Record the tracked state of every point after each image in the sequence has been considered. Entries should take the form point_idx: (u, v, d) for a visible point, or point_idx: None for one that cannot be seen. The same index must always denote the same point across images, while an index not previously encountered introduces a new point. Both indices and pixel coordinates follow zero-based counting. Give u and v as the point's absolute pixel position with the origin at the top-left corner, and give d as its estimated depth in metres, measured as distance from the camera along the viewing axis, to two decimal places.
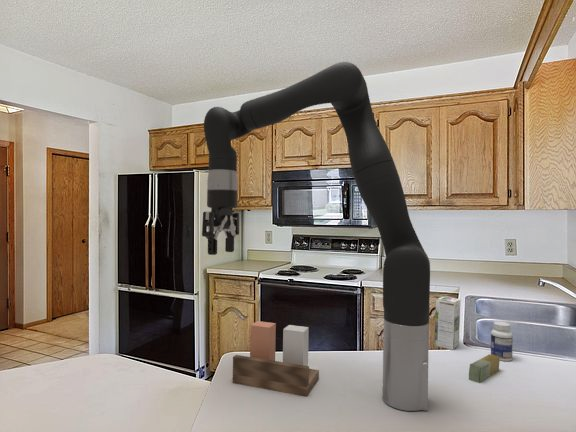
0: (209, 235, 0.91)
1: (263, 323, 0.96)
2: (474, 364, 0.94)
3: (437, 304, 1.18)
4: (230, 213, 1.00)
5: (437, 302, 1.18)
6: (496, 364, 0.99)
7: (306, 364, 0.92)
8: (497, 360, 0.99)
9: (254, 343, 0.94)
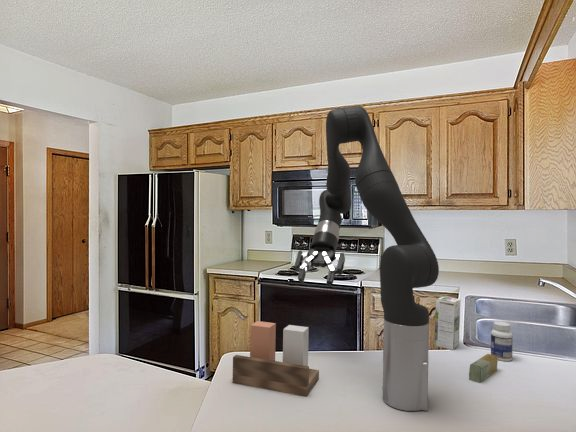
0: (295, 266, 1.12)
1: (263, 323, 0.96)
2: (474, 364, 0.94)
3: (437, 304, 1.18)
4: (329, 252, 1.12)
5: (437, 302, 1.18)
6: (495, 363, 0.99)
7: (306, 364, 0.92)
8: (495, 359, 1.00)
9: (254, 343, 0.94)
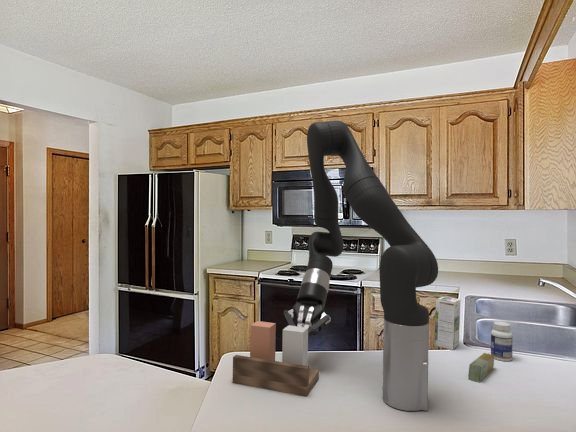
0: None
1: (263, 323, 0.96)
2: (474, 364, 0.94)
3: (437, 304, 1.18)
4: (319, 306, 1.00)
5: (437, 302, 1.18)
6: (492, 362, 1.00)
7: (306, 365, 0.92)
8: (492, 358, 1.00)
9: (254, 343, 0.94)
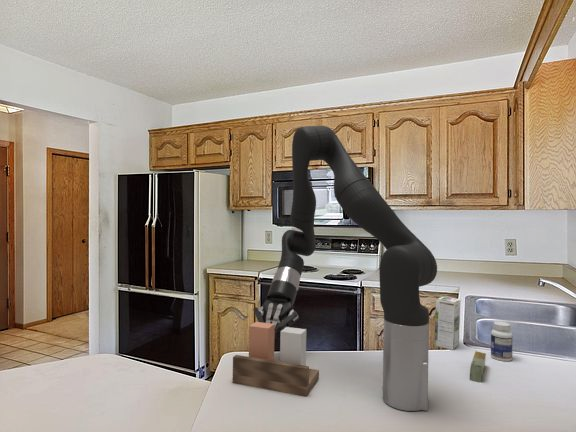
0: None
1: (261, 324, 0.95)
2: (474, 364, 0.94)
3: (437, 304, 1.18)
4: (287, 303, 1.03)
5: (437, 302, 1.18)
6: None
7: None
8: (485, 356, 1.02)
9: (253, 344, 0.93)
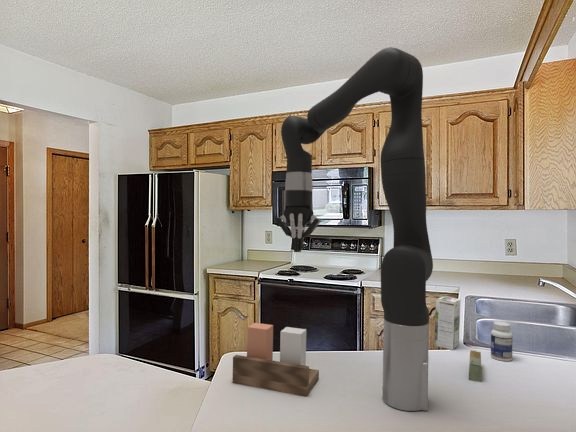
0: None
1: (260, 325, 0.94)
2: (473, 364, 0.94)
3: (437, 304, 1.18)
4: (307, 210, 1.06)
5: (437, 302, 1.18)
6: None
7: None
8: (480, 355, 1.02)
9: (251, 345, 0.92)
